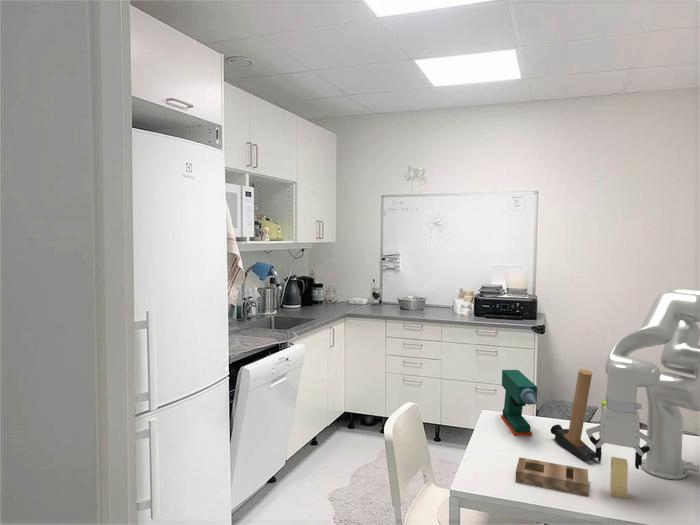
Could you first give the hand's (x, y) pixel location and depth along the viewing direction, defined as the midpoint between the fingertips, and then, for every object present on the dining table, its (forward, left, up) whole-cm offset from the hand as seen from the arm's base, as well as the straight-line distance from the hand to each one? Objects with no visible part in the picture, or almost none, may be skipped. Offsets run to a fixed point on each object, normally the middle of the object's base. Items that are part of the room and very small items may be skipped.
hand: (617, 463), depth 146 cm
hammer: (+12, -27, -10) cm, 31 cm away
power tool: (+30, -35, -10) cm, 47 cm away
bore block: (+18, -1, -9) cm, 20 cm away
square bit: (0, -1, -9) cm, 9 cm away
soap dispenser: (0, -45, -10) cm, 46 cm away
